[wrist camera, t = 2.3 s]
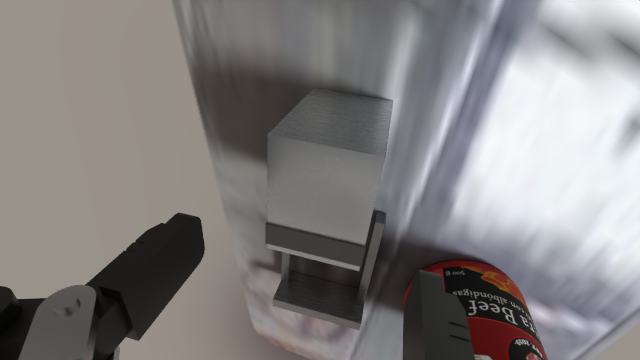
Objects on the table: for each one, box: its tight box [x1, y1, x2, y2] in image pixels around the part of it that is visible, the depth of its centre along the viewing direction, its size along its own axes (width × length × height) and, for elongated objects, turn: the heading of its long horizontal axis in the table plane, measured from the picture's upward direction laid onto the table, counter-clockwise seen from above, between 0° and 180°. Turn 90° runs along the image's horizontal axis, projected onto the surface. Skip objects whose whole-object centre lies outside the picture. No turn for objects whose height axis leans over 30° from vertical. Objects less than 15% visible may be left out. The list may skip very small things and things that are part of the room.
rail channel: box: [273, 211, 386, 330], centre depth 22 cm, size 9×7×3 cm
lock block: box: [266, 88, 393, 271], centre depth 16 cm, size 6×5×7 cm
